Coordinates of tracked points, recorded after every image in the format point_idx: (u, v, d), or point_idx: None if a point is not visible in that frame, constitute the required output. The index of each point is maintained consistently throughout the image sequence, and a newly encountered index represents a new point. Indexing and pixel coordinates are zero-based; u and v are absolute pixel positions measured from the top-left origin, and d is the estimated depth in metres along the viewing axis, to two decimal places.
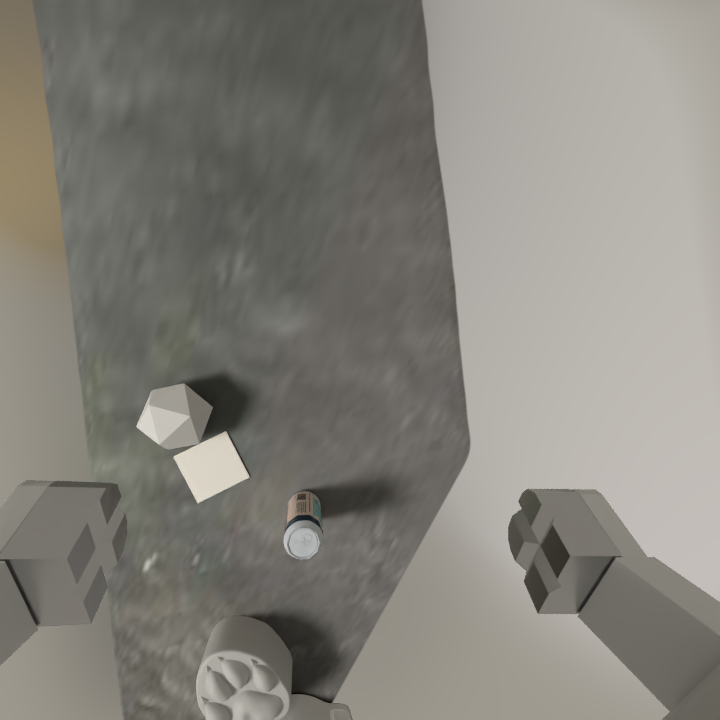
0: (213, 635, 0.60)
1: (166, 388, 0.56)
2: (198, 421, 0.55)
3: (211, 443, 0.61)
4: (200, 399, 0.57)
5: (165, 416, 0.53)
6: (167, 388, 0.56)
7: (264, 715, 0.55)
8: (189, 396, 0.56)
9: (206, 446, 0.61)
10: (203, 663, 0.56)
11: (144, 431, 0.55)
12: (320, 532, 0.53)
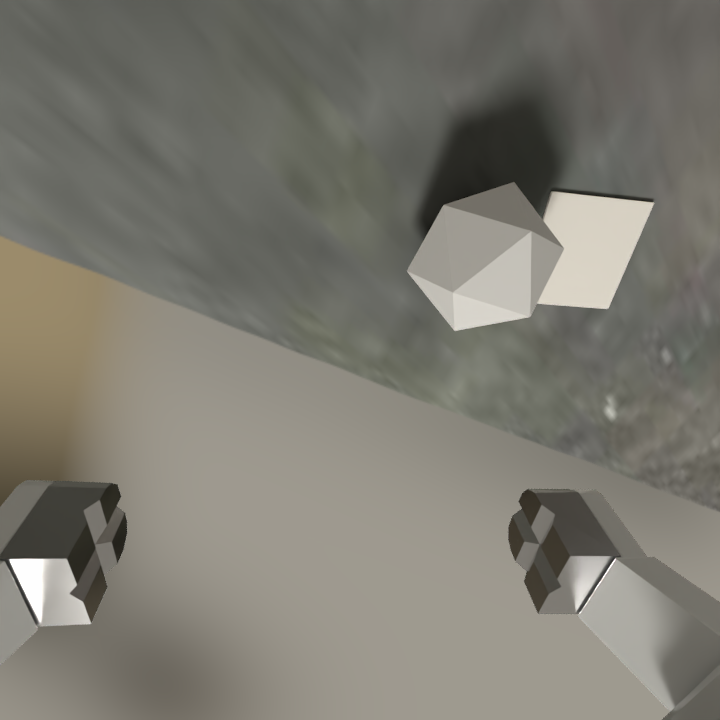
0: None
1: (427, 244, 0.26)
2: (535, 223, 0.24)
3: None
4: (490, 194, 0.25)
5: (493, 277, 0.24)
6: (429, 242, 0.26)
7: None
8: (478, 209, 0.24)
9: None
10: None
11: (478, 324, 0.27)
12: None
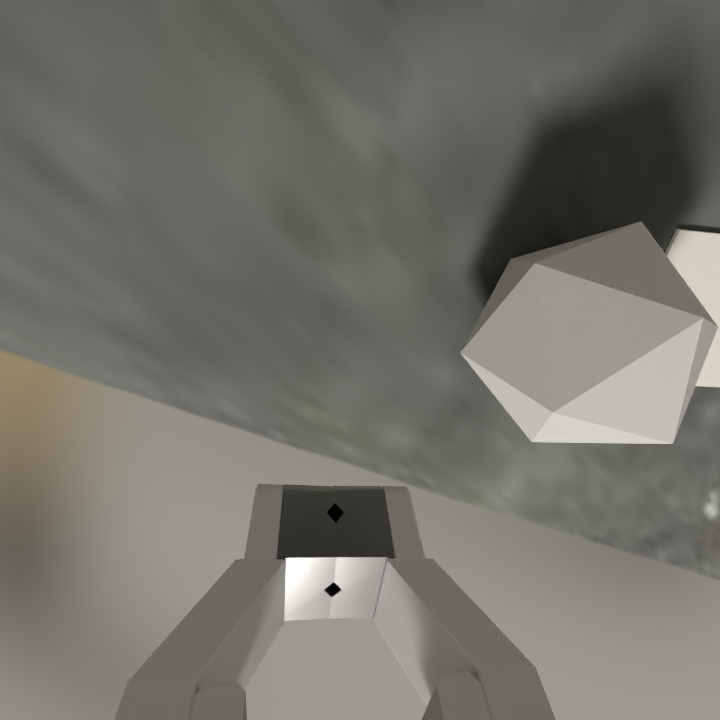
0: None
1: (500, 320, 0.16)
2: (691, 294, 0.14)
3: None
4: (608, 244, 0.15)
5: (624, 389, 0.14)
6: (504, 318, 0.16)
7: None
8: (597, 272, 0.14)
9: None
10: None
11: (574, 441, 0.17)
12: None
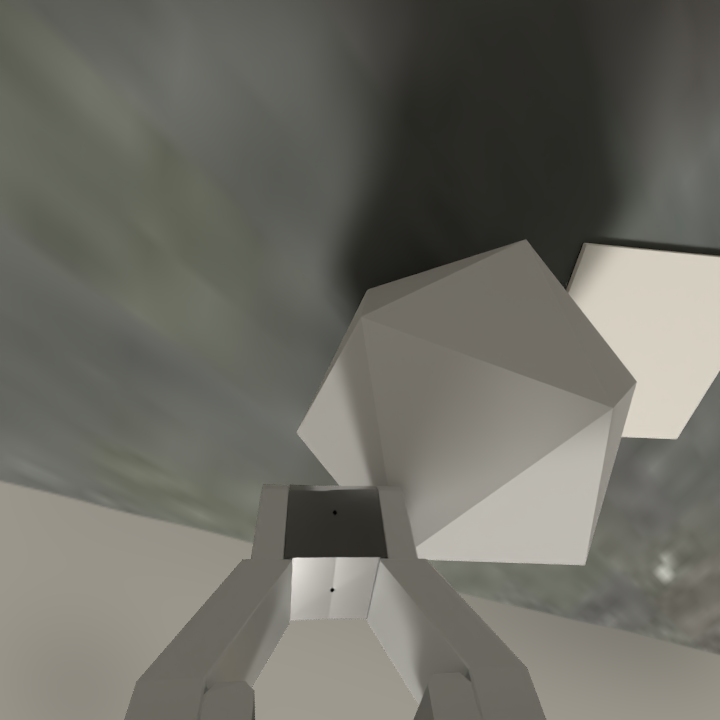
0: None
1: (331, 397, 0.11)
2: (597, 353, 0.10)
3: None
4: (477, 278, 0.10)
5: (505, 514, 0.09)
6: (334, 395, 0.10)
7: None
8: (455, 329, 0.09)
9: None
10: None
11: None
12: None
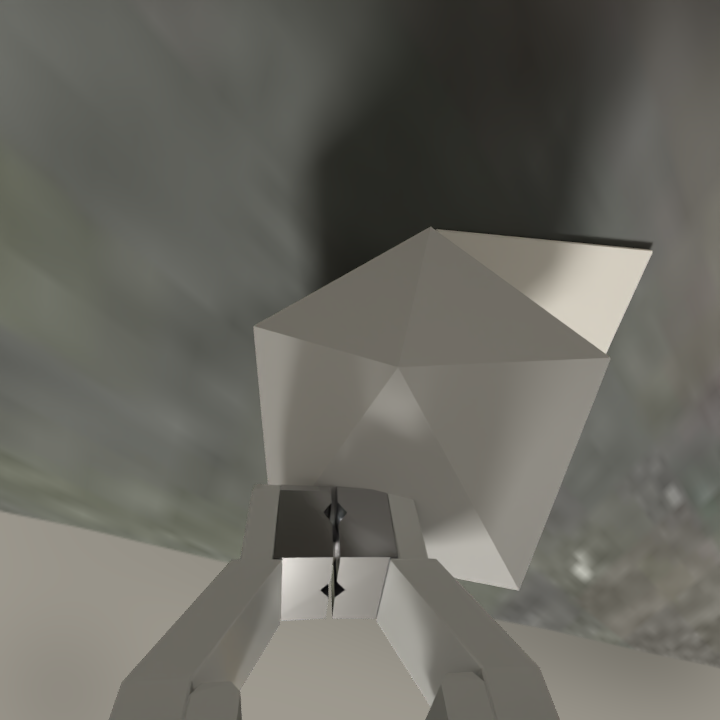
0: None
1: (349, 476, 0.08)
2: None
3: None
4: (438, 279, 0.09)
5: None
6: (358, 471, 0.08)
7: None
8: (476, 340, 0.08)
9: None
10: None
11: None
12: None
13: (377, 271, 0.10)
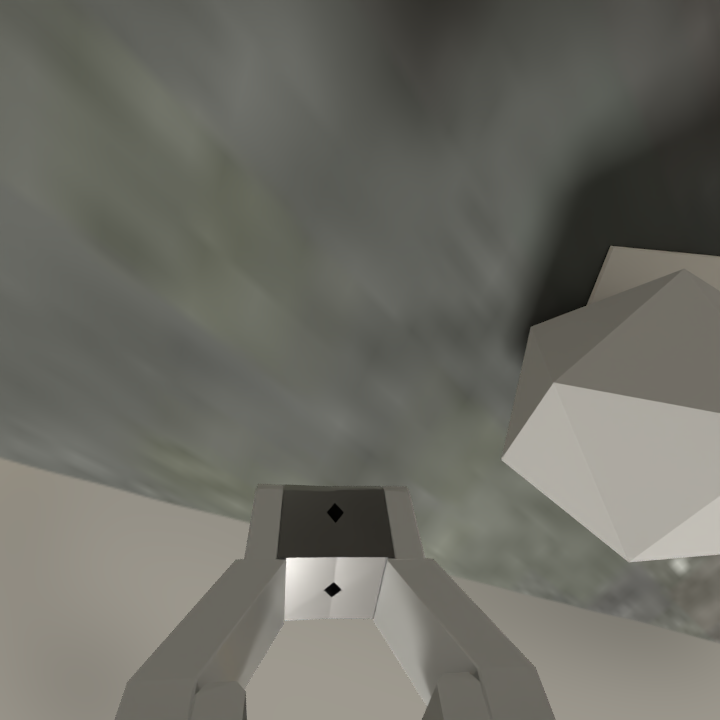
0: None
1: None
2: None
3: None
4: None
5: None
6: None
7: None
8: None
9: None
10: None
11: None
12: None
13: (667, 320, 0.11)
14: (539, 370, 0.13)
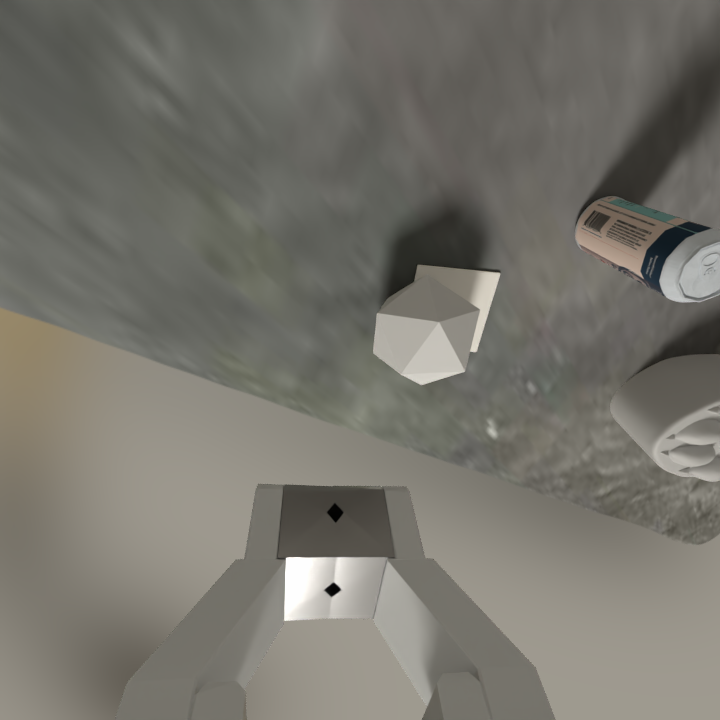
0: (624, 419, 0.45)
1: (424, 350, 0.32)
2: None
3: None
4: (436, 294, 0.33)
5: None
6: (427, 348, 0.32)
7: None
8: (450, 311, 0.32)
9: None
10: (654, 453, 0.42)
11: None
12: None
13: (415, 291, 0.33)
14: None
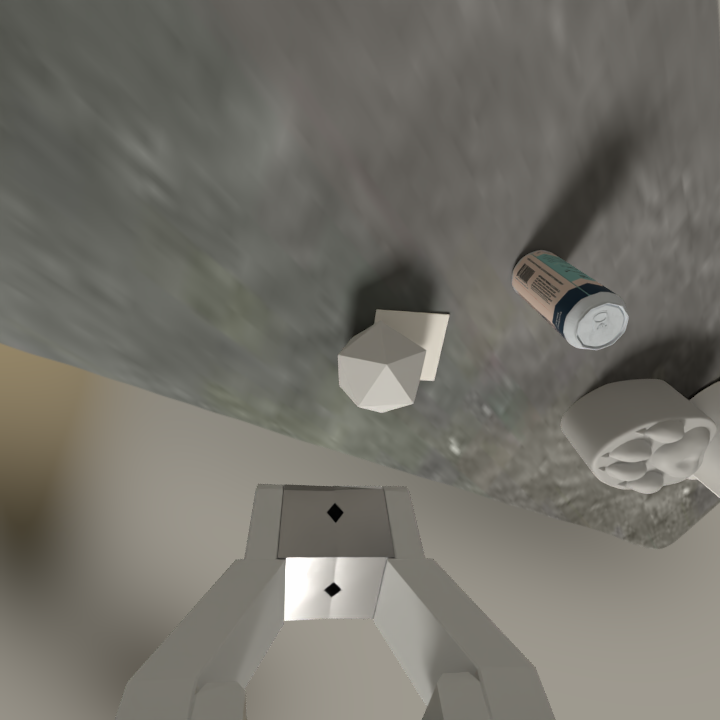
0: (571, 437, 0.51)
1: (376, 387, 0.38)
2: None
3: None
4: (387, 338, 0.39)
5: (419, 380, 0.40)
6: (378, 386, 0.38)
7: (697, 451, 0.45)
8: (398, 354, 0.38)
9: None
10: (593, 468, 0.47)
11: None
12: (609, 295, 0.32)
13: (370, 336, 0.39)
14: None
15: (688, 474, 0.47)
